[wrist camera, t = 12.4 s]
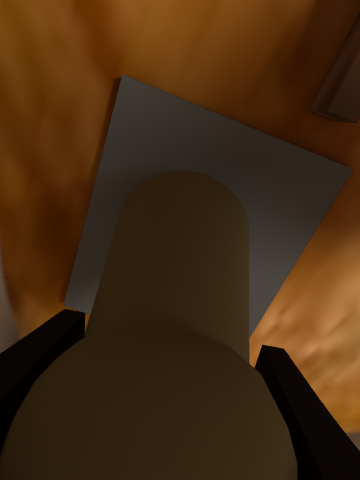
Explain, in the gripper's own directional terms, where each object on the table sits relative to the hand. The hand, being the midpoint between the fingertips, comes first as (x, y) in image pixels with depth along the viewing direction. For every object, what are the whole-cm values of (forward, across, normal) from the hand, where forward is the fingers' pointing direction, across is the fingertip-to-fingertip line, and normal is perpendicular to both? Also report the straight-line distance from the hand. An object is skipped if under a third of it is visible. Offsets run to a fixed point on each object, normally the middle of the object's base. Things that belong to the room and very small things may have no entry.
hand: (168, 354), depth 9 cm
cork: (+6, 0, -1) cm, 6 cm away
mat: (+8, 0, 0) cm, 8 cm away
